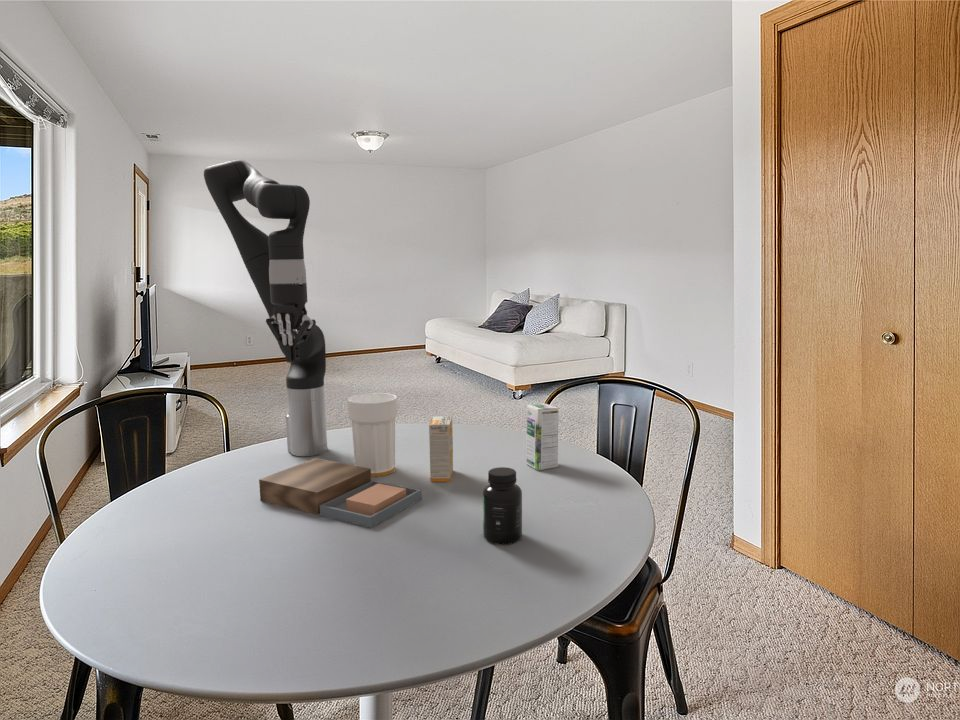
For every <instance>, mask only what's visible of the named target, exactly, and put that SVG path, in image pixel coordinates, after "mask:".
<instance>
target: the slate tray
mask: <svg viewBox="0 0 960 720" xmlns="http://www.w3.org/2000/svg"><path fill="white" fill-rule="evenodd" d="M378 483H379V484H384V485H389V486H395V487H400V488H405V489H406V497H404V498H403V499H401V500H399V501H397V502H395V503H393V504H392V505H390V506H388V507H386V508H384V509H382V510H381V511H379V512H377V513H375V514H373V515H371V516H368V515H363V514H359V513H355V512H351V511H347V510H346V499H348V498H350V497H352V496H354V495H356V494H358V493H360V492H362V491H364V490H366V489H368V488H370V487H372V486H374V485H376V484H378ZM421 500H422V490H421V489H419V488H413V487H407V486H403V485H397V484H393V483H388V482H385V481H384V482H382V481H378V480H373V479H372V480H371V481H370V482H368V483H366V484H364V485H362V486H360V487H358V488H356V489H354V490H351V491H349V492H347V493H345V494H343V495H341V496H339V497H337V498H334V499H332V500H330V501H328V502H326V503H324V504H322V505H320V514H319V515H320V517H321V516H322V517H326V518H330V519H334V520H337V521H341V522H345V523H350V524H354V525H358V526H362V527H366V528H370V529H371V528H374V527H376V526H377V525H379V524H381V523H382V522H384V521H386V520H388V519H389V518H391V517H393V516H394V515H396V514H398V513H400V512H401V511H403V510H405V509H407V508H409V507H411V506H413V504H416V503H417V502H419V501H421Z"/></svg>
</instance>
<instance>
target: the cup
mask: <svg viewBox="0 0 960 720" xmlns="http://www.w3.org/2000/svg"><path fill="white" fill-rule="evenodd" d="M346 400H347V408H348V409H347V411H348V412H347V414H348V418H349V420H350V421H351V431H352V441H353V443H352V444H353V454H354V455H353V456H354V466H359V467H364V468H370V469H371V478H377V477H378V478H379V477H384V476H387V475H391V474H392V473H393V472H394V471H395V470H396V418H397V417H398V412H399V411H398V396H397V395H395V394H392V393H387V392H369V393H368V392H367V393H360V394H355V395H352V396H349V397H348V399H346Z"/></svg>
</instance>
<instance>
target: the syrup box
mask: <svg viewBox="0 0 960 720" xmlns="http://www.w3.org/2000/svg"><path fill="white" fill-rule="evenodd" d="M559 410H560V409H559V407H555V406H552V405H550V404H548V403H534V404H533V403H532V404H528V405H526V441H525V443H526V446H525V447H526V450H525V453H526V454H525V455H526V457H525V460H526V462H525V465H526V466H529V467H531V468H533V469H534V470H536V471H543V470H549V469H550V470H551V469H554V468H558V463H559V462H558V461H559V458H558V457H559Z"/></svg>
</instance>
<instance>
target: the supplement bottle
mask: <svg viewBox="0 0 960 720" xmlns="http://www.w3.org/2000/svg"><path fill="white" fill-rule="evenodd" d="M487 474H488V477H487V478H488V479H487V483H488V484H487V485H486V486H484V488H483V491H482V524H483V525H482V527H483V528H482V529H483V530H482V531H483V533H482V534H483V537H484V540H486V541H487V542H488V543H489V542H490V543H492V544H495V545H511V544H515V543H517V542H518V541H520V540H521V539H522V536H523V490H522V489H521V487H520V486H519V485H518V484H517V481H518V480H517V479H518V478H517V472H516V470H515V469H514V468H511V467H502V466H501V467H500V466H499V467H493V468H492V469H491V468H490V469H489V470H488V473H487Z"/></svg>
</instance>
